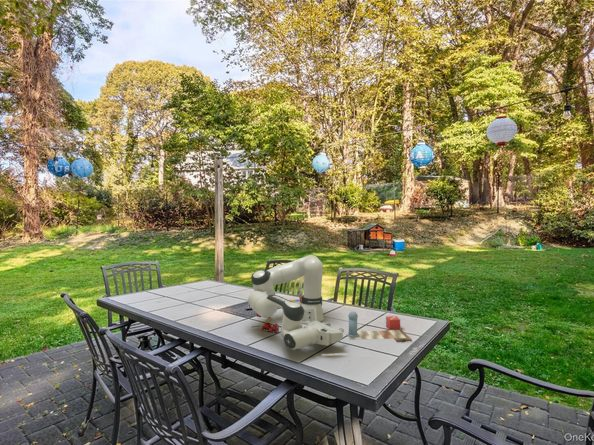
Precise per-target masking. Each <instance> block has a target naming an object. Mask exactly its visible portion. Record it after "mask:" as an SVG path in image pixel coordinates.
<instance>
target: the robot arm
mask: <svg viewBox="0 0 594 445" xmlns="http://www.w3.org/2000/svg"><path fill="white" fill-rule="evenodd" d="M323 268H324V264H323V262H322V261H321V260H320V259H319V258H318V256H316V255H314V254H308V255H305V256H303V257H300V258H298V259H296V260H293V261H289V262H286V263H283V264H280V265H276V266H273V267H271V268H269V269H267V270H264V269H258V270H256V271H254V272H253V273H252V275H251V277H250V280H251V284H252V287H253V291H252V292H251V293H250V294H249V295H248V298H247V299H248V300H247V302H248V304H249V306H250V307H251V308H252V310H253V311H254V312H255V313H256V315H257V314H258V315H260V316H261V317H260V318H266V319H267V317H271V318H272V316H273V315H275V314H276V313H277V311H278V308H279V309H281V310H282V321H281V326H280V327H281V328H280V335H281V337H282V338H283V343H284V345H285V347H286V348H287V349H289V350H300V349H304V348H307V347H308V346H312V345H322V346H329V345H330V344H334V343H335V344H336V343H338V342H340V341H342V340H343V336H344V335H343V333H344V332H345V329H344V328H342V327H341V328H339V329H337V328H334V327H332V323H331V322H326V323H325V322H323V321H325V320H324V319H325V318H324V312H323V296H322V285H323V284H322V282H323V271H324V269H323ZM301 277H303V296H302V295H299V296H298V299H300V303H296V302H292V301H289V300H290V299H287V298H284V297H282V296H280V295H278V294H276V292H275V289H274V285H281V284H284V283H285V284H286V283H289V282H291V281H297V279H300V278H301ZM303 324H305V325H304V327H303V326H302V325H303Z"/></svg>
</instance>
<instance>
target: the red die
mask: <svg viewBox="0 0 594 445" xmlns="http://www.w3.org/2000/svg"><path fill="white" fill-rule="evenodd" d="M385 327H386V328H387V330H400V329H401V319H400V318H399V316H396V315H395V316H394V315H392V316H391V315H389V316H385Z"/></svg>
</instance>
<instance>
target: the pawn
mask: <svg viewBox="0 0 594 445" xmlns="http://www.w3.org/2000/svg"><path fill="white" fill-rule="evenodd" d="M347 317H348V332H349V333H348V336H349V337H358V336H359V335H358V333H357V331H358V313H357V312H356V311H349V313H348V316H347ZM348 336H347V337H348ZM349 337H348V338H349Z"/></svg>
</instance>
